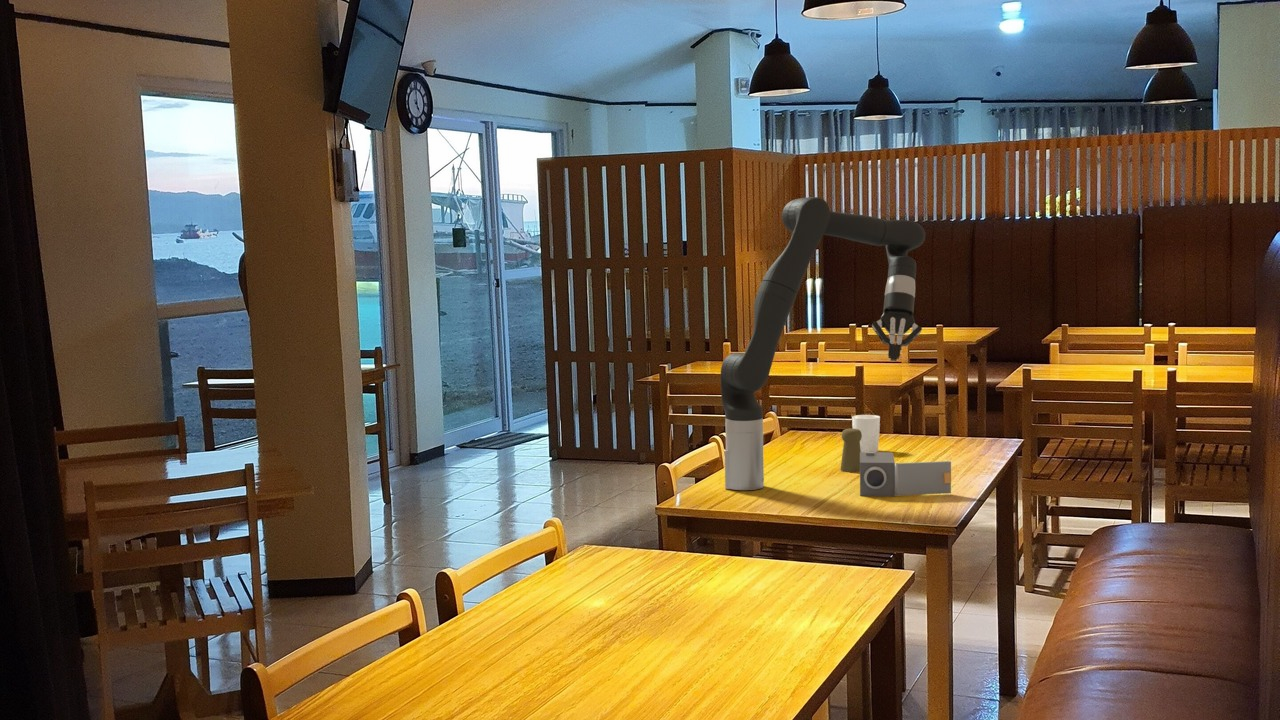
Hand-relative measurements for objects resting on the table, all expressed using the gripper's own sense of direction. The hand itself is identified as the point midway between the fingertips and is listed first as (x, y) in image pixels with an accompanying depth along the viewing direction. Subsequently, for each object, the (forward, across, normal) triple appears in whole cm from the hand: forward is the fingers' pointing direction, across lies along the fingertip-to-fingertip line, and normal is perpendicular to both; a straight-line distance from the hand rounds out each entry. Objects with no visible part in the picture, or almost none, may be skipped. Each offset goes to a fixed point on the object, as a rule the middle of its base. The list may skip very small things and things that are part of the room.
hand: (893, 359), depth 299 cm
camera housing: (+34, -1, -2) cm, 34 cm away
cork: (+25, -7, +21) cm, 33 cm away
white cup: (+12, -2, +47) cm, 49 cm away
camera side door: (+35, +9, -8) cm, 37 cm away
